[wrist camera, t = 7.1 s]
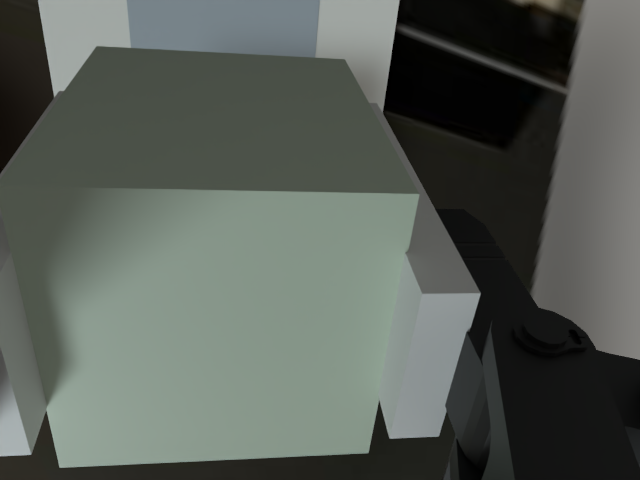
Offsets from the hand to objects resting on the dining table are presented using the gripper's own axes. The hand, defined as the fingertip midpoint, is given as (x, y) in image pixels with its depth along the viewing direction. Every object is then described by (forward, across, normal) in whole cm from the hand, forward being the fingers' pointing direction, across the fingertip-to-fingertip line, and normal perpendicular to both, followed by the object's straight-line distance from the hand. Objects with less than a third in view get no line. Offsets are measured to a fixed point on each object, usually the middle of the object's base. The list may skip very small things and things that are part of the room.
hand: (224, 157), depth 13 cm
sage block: (0, 0, 0) cm, 1 cm away
